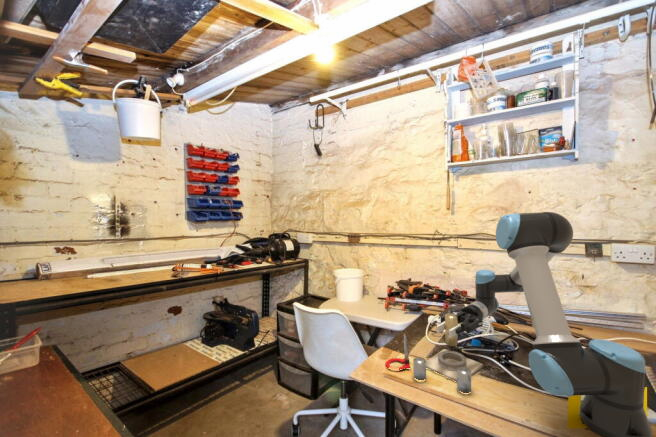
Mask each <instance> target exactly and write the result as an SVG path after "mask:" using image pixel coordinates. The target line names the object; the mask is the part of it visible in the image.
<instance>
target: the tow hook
mask: <svg viewBox="0 0 656 437" xmlns="http://www.w3.org/2000/svg"><path fill="white" fill-rule="evenodd" d="M403 348H404V354H403V355H404V356H403V357H404V358H400V357H399V358H398V357H395V358H390V359H388V360H386V362H385V363H384V364H385V365H384V366H385V368H386V367H387V368H389V367H390V366H391V363H394V361H399V362H398V363H400V362H402V363H401V364H403V365H402V366H399V367H398V368H399V370H400V369H404V368H411V365H410V364H411V363H410V356H409V351H408V349H409V348H408V340H407V335H406V333H403ZM387 368H386V369H387ZM411 369H412V368H411Z"/></svg>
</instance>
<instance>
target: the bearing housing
mask: <svg viewBox="0 0 656 437" xmlns="http://www.w3.org/2000/svg"><path fill="white" fill-rule="evenodd" d="M460 367H465V368H468V369H469V370H470V371H471V376H474V375H475V374H476V373H478V372H479V371H480V370H481V369H482V368H484V363H481V362H479V361H477V360H474V359H471V358H468V357H466V356H465V355H464V354H462V353H460V352H457V351H454V350H449V349H445V348H443V349H442V350H440V351H439V352H438V353H436V354H434V355H432V356H430V358H429V359H427V360H426V368H428V369H430V370H432V371H435V372H437V373H439V374H441V375H444V376H445V377H448V378H450V379H451V380H454V381H456V382H457V369H458V368H460ZM428 369H427V370H428ZM430 370H429V371H430ZM432 371H431V372H432ZM439 374H438V375H439ZM441 375H440V376H441ZM445 377H444V378H445ZM451 380H450V381H451ZM454 381H453V382H454ZM456 382H455V383H456Z"/></svg>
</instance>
